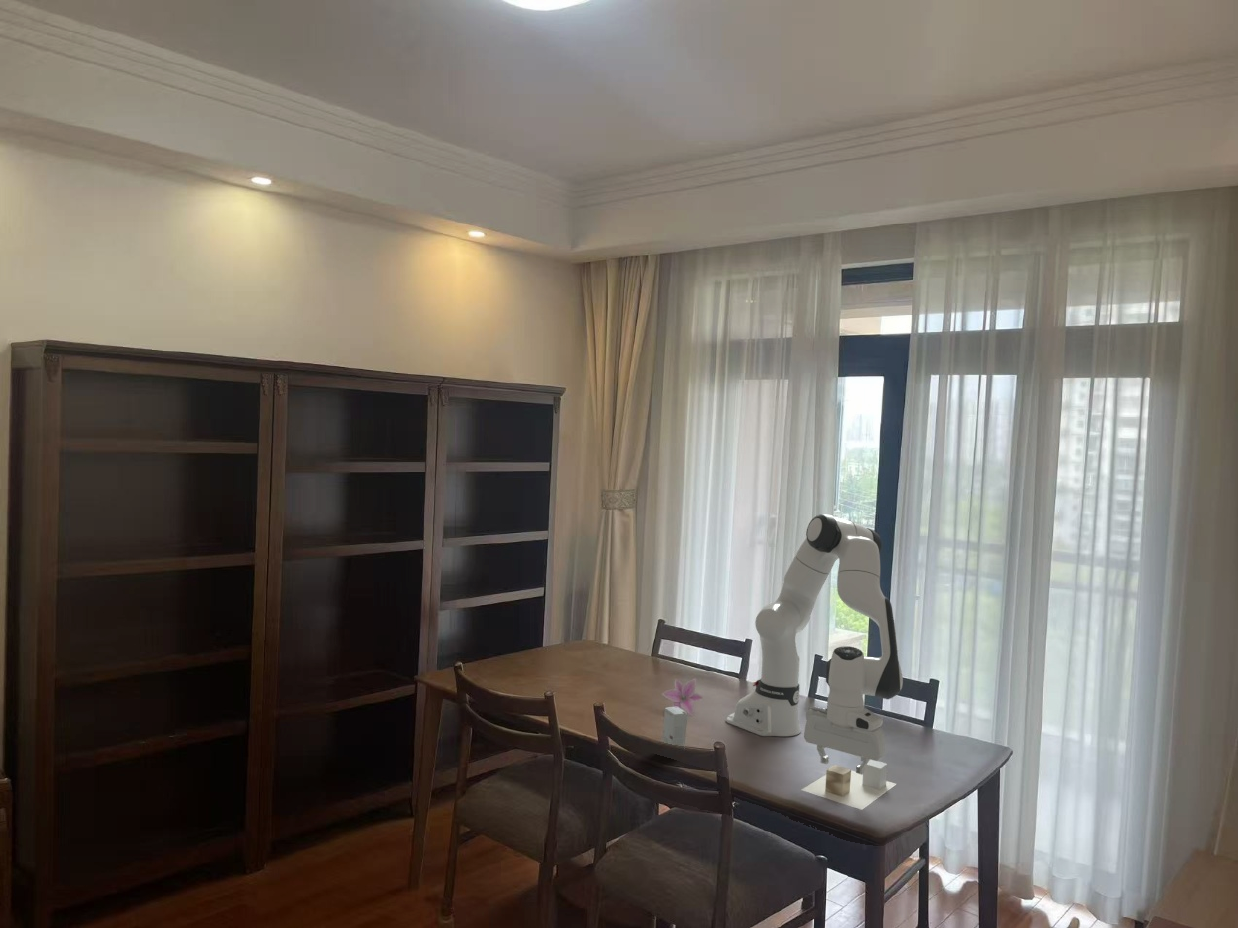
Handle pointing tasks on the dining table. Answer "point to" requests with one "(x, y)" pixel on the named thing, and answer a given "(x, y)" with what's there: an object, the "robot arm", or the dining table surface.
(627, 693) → the dining table surface
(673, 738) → the skincare box
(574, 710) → the dining table surface
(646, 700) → the dining table surface
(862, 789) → the cream flat sheet
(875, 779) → the grey block
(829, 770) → the birch block
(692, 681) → the lily
